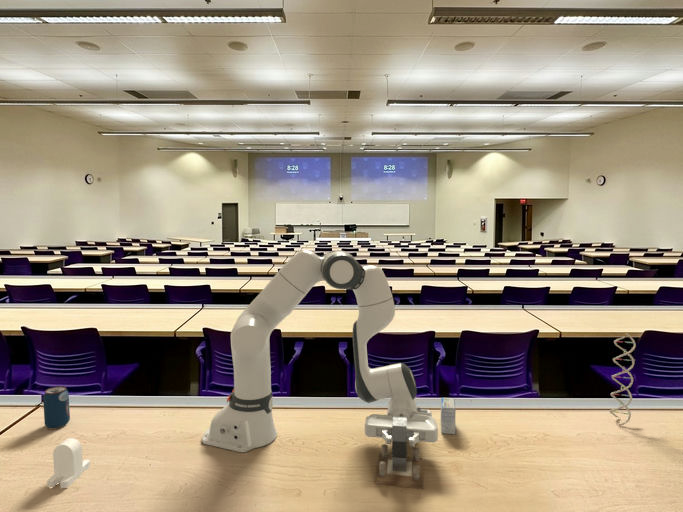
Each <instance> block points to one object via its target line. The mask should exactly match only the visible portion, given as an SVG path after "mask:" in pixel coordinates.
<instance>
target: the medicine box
mask: <svg viewBox="0 0 683 512" xmlns="http://www.w3.org/2000/svg"><path fill="white" fill-rule="evenodd" d="M456 414H457V413H456V403H455V398H452V397H440V431H441V432H440V433H441V434H444V435H445V434H446V435H456V417H457V416H456Z"/></svg>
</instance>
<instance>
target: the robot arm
mask: <svg viewBox="0 0 683 512" xmlns="http://www.w3.org/2000/svg"><path fill="white" fill-rule="evenodd" d="M382 269H383V268H381V267H379V266H377V265H372V264H371V265H365V266H364V265H363V266H362V265H361V264H360V263H359V262H358V260H356V259H355V257H354V255H352V254H351V253H349V252H347V251H345V250H333V251H329V252H328V253H325V254H322V255H318V254H316V253H315V252H313V251H311V250H307V249H303V250H302V249H301V250H300V251H298V252H297V253H296V254H294V255H293V256H292V257H290V259H288V260H287V261H286V262H285V263H284V264H283V266H281V267H280V269H279V270H278V271H277V273H276V274H275V275H274V276H273V277H272V279H271V280H270V281H269V282H268V283H267V284H266V285H265V286H264V288H263V289H262V290H261V291H260V292H259V294H257V296H256V297H255V298H253V300H252V301H251V302H250V304H249V305H248V306H247V307H246V308H245V309H244V310H243V311H242V313H241V314H240V315H239V316H238V317H237V319H236V322H235V324H234V325H233V328H232V330H231V332H230V348H231V357H232V365H233V380H234V381H233V385H234V386H233V389H232V392H230V393H229V394H228V397H227V398H226V403H228V404H226V405H225V406H224V407H222V408H221V409H220V410H219V411H217V413H216V414H215V415H214V416H213V417H212V420H211V421H210V422H211V423H210V426H209V427H208V428H207V429H206V430H205V431H204V433H203V434H202V438H201V442H202V444H204V445H208V446H212V447H216V448H221V449H226V450H229V451H234V452H237V453H246V452H249V451H250V450H253V449H256V448H260V447H264V446H266V445H269V444H271V443H272V442H273V441H274V440H275V439H276V438H277V435H278V434H277V433H278V431H277V430H276V427H275V426H276V425H275V422H274V416H273V406H274V397H273V391H272V385H271V384H272V381H271V380H272V379H271V378H272V376H271V375H272V371H271V368H272V365H271V354H270V353H271V350H270V349H271V347H270V346H271V345H270V336H271V334H272V332H273V331H274V330H275V329H276V328H277V326H279V325H280V324H281V322H282V321H283V320H285V319H286V318H288V316H289V315H291V313H292V312H293V311H294V310H295V309H296V308H297V306H298V305H299V304H300V303H301V301H302V300H303V299H304V298H305V297H306V296H307V294H308V293H309V292H310V290H311V289H312V288H313V287H314V286H315V285H316V284H317V283H319V282H323V281H325V282H326V284H328V285H329V286H330V287H331V288H332V289H333V288H334V289H336V290H351V291H353V293H354V295H355V298H356V303H357V306H358V317H357V319H356V320H355V322H353V325H352V347H353V359H354V371H355V372H354V373H355V380H354V381H355V382H354V383H355V384H354V385H355V386H354V388H355V392H356V395H357V397H358V398H359V399H360V400H362V401H363V402H365V403H367V404H370V403H374V402H378V401H379V400H380V401H381V400H384V399H389V400H388V405H387V412H386V414H379V413H373V414H370V415H368V416H366V417H365V423H364V435H365V436H366V437H367V438H378V439H382V440H383V441H384V442H385V443H384V444H386V445H392V438H393V431H392V425H393V417H403V418H407V441H408V446H409V447H412V448H414V447H416V446H415V445H416V444H417V443H420V442H424V443H425V442H426V443H436V442H438V439H439V438H438V436H439V434H438V433H439V430H438V428H439V427H438V425H437V422H436V420H435V418H434V417H433V415H432V411H431V410H429V409H426V408H422V407H418V406H417V400H416V396H417V383H416V378H415V376H414V373H413V371H412V369H411V368H410V367H409V366H408V365H407V364H405V363H403V362H399V363H394V364H389V365H385V366H380V367H379V366H378V367H375V368H374V367H373V368H371V367H370V366H369V362H368V350H367V349H368V348H367V344H368V342H369V340H370V339H371V338H373V336H375V335H377V334H378V333H381V331H383V330H384V329H386V328H387V327H388V326H389V325H390V324H391V323H392V321H393V320H394V317H395V313H396V309H395V301H394V297H393V293H392V290H391V288H390V285H389V282H388V279H387V276H386V275H385V273H384V270H382Z"/></svg>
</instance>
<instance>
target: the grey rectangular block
mask: <svg viewBox="0 0 683 512" xmlns="http://www.w3.org/2000/svg"><path fill="white" fill-rule="evenodd" d="M392 431H393V438H392V439H391V448H392V449H391V455H392V457H393V470H395V471H406V465H407V457H408V455H407V454H408V440H407V418H403V417H393V425H392Z"/></svg>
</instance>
